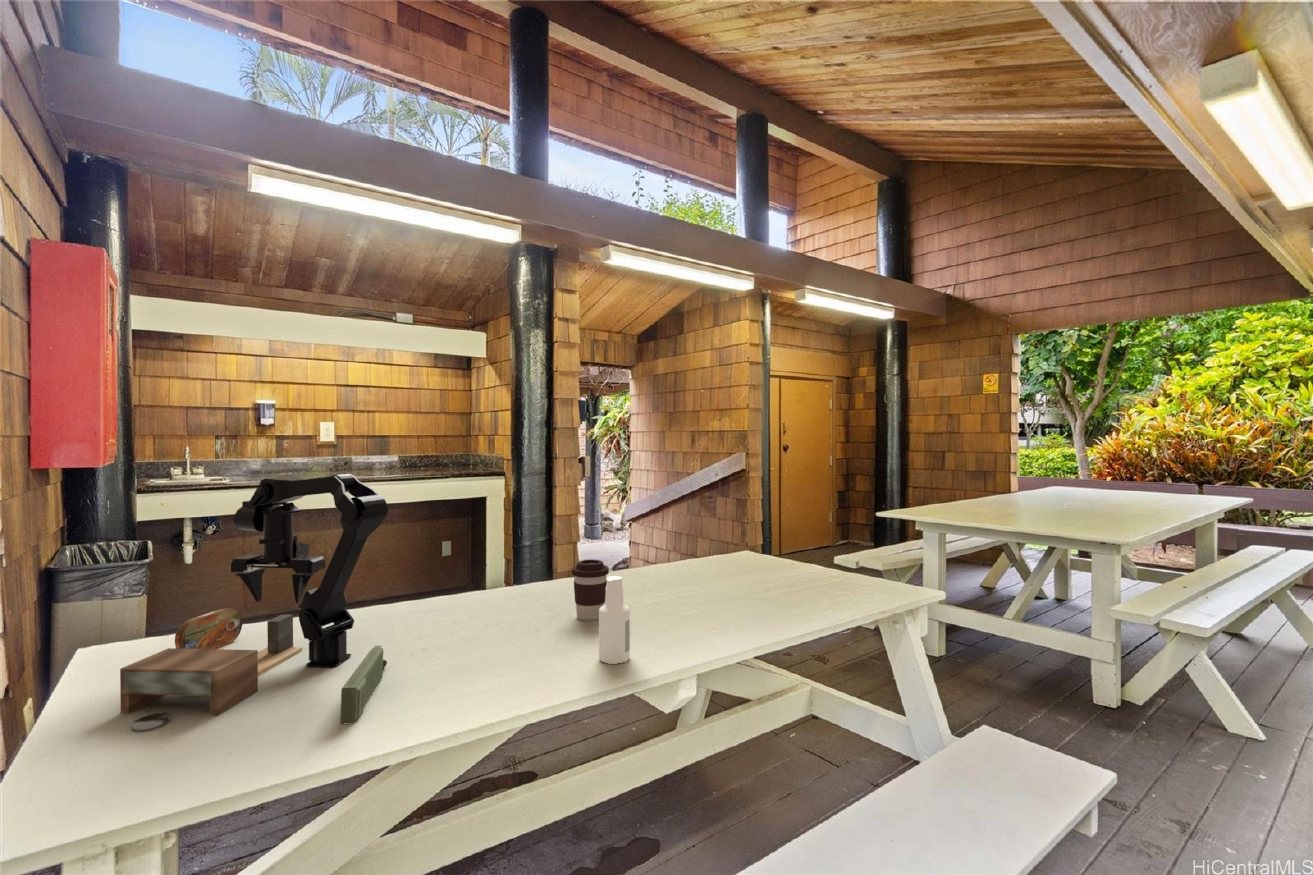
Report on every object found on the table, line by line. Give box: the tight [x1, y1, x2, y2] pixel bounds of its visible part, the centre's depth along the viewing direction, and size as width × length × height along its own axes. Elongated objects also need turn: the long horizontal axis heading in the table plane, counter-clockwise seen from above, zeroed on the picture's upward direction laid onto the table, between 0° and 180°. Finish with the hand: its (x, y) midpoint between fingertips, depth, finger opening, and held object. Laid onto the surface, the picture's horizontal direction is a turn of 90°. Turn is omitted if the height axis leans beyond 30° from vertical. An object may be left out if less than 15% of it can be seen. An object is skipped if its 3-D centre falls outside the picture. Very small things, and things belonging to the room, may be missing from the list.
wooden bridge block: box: [119, 647, 259, 717], centre depth 112 cm, size 18×10×8 cm, turn 87°
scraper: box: [258, 613, 303, 677], centre depth 127 cm, size 8×22×8 cm, turn 177°
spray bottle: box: [598, 575, 631, 665], centre depth 133 cm, size 7×7×18 cm
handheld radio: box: [339, 645, 388, 725], centre depth 116 cm, size 7×3×25 cm
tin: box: [174, 607, 243, 649], centre depth 139 cm, size 15×3×8 cm, turn 168°
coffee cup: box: [571, 559, 610, 622], centre depth 162 cm, size 10×10×15 cm
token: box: [131, 712, 171, 733], centre depth 103 cm, size 5×5×1 cm
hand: (278, 601), depth 136 cm, fingers open, 9 cm apart
